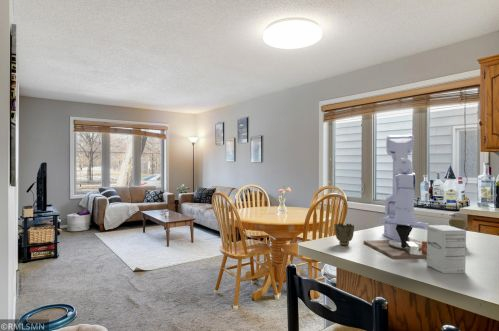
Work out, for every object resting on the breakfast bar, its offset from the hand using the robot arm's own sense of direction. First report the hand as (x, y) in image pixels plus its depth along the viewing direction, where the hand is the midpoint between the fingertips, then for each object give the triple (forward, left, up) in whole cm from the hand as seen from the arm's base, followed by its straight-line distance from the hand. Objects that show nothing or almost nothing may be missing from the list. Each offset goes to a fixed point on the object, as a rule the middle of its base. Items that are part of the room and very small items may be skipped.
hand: (404, 247), depth 106 cm
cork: (-7, +27, -3) cm, 28 cm away
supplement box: (+15, +4, -3) cm, 15 cm away
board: (-6, +5, -3) cm, 8 cm away
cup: (-14, -15, -3) cm, 21 cm away
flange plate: (-4, +4, -1) cm, 6 cm away
